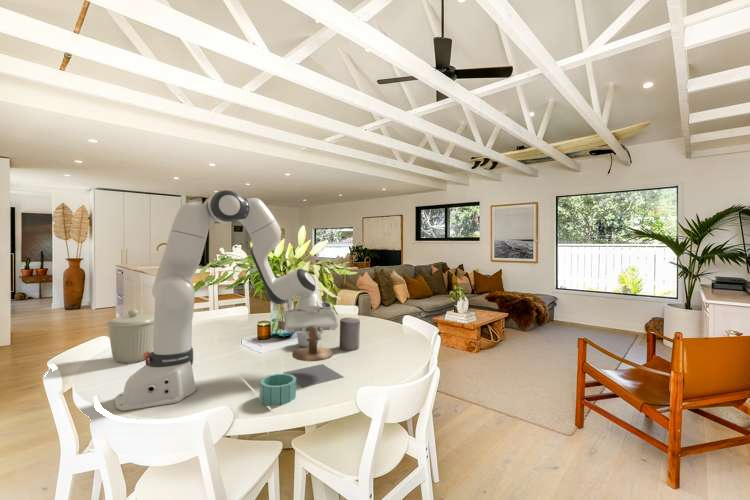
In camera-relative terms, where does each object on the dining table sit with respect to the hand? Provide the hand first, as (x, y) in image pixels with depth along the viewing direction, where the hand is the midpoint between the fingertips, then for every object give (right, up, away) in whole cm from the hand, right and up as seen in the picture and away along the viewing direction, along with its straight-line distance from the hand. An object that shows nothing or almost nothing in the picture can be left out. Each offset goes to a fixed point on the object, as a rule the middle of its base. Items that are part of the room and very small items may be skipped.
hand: (313, 339), depth 132 cm
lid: (0, -6, +1) cm, 6 cm away
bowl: (-8, -14, -19) cm, 25 cm away
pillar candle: (+11, -14, +38) cm, 42 cm away
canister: (-79, -13, +16) cm, 81 cm away
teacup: (-9, -13, +42) cm, 45 cm away
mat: (0, -14, +1) cm, 14 cm away
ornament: (-25, -13, +56) cm, 63 cm away
